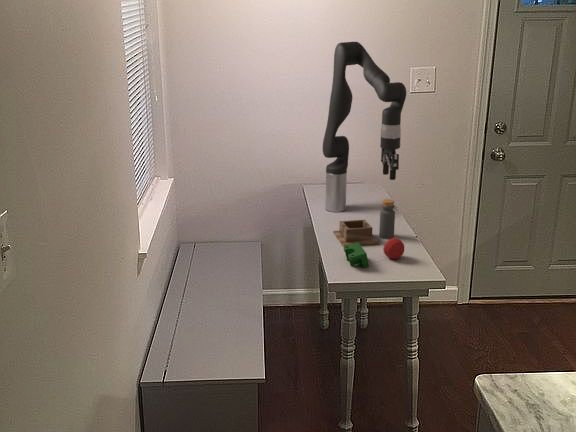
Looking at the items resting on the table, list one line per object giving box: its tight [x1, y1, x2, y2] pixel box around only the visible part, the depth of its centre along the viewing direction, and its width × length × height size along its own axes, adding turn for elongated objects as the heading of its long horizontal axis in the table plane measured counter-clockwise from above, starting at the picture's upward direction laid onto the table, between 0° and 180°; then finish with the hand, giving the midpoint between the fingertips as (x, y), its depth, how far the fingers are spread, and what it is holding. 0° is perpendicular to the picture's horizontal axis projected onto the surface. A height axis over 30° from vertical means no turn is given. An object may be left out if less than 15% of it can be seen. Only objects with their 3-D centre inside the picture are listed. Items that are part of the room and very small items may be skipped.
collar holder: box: [332, 219, 380, 248], centre depth 264 cm, size 16×14×6 cm
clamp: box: [343, 242, 370, 268], centre depth 240 cm, size 12×6×9 cm, turn 3°
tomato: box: [382, 237, 405, 260], centre depth 244 cm, size 8×8×8 cm
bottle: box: [378, 198, 396, 240], centre depth 265 cm, size 6×6×15 cm
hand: (389, 177), depth 259 cm, fingers open, 8 cm apart
